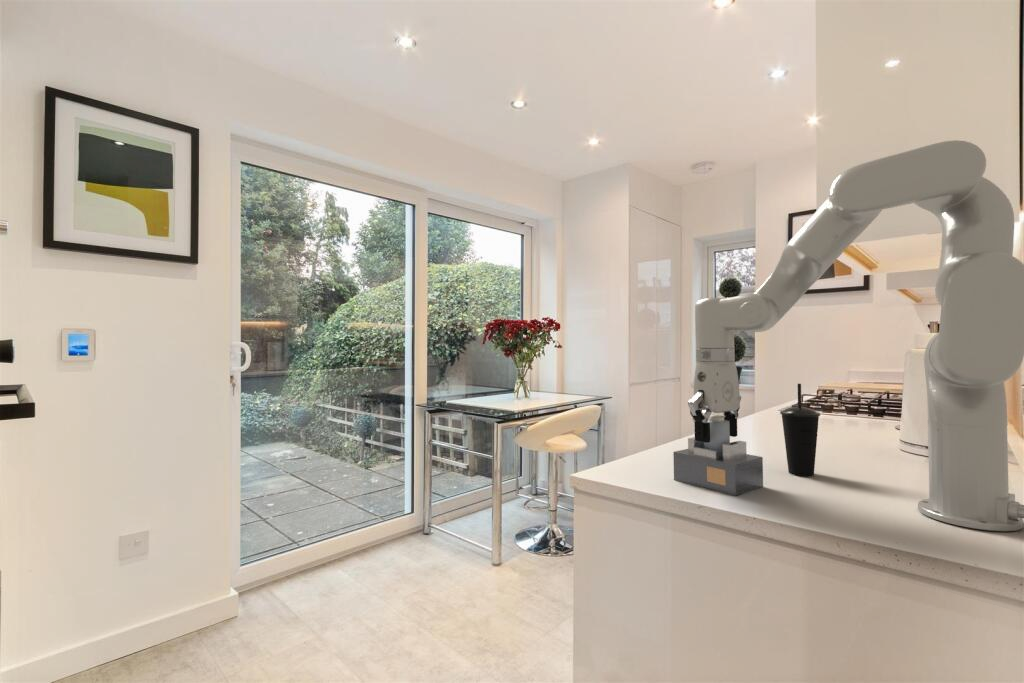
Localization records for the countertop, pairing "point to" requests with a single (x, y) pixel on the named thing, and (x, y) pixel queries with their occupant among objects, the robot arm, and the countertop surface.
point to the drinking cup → (800, 438)
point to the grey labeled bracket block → (719, 468)
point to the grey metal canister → (718, 433)
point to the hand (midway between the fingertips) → (716, 438)
